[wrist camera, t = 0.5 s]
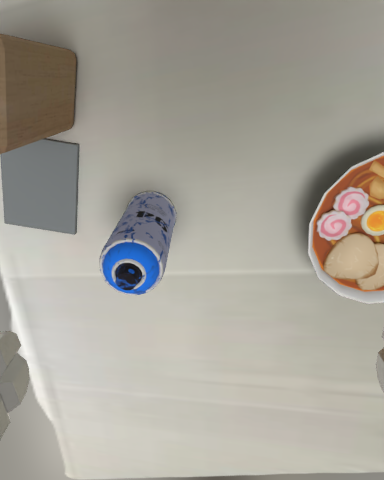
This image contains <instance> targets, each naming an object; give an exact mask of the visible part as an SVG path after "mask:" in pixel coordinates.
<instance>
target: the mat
mask: <svg viewBox="0 0 384 480" xmlns="http://www.w3.org/2000/svg"><path fill="white" fill-rule="evenodd" d="M0 155H1V171H2V187H3V204H4V220H5V223H6V224H12V225H18V226H25V227H31V228H37V229H43V230H49V231H56V232H62V233H68V234H74V235H75V234H76V233H77V201H78V169H79V144H73V143H68V142H62V141H56V140H50V139H41V140H39V141H36V142H33V143H30V144H28V145H25V146H22V147H19V148H17V149H14V150H11V151H8V152H6V153H2V154H0Z"/></svg>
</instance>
